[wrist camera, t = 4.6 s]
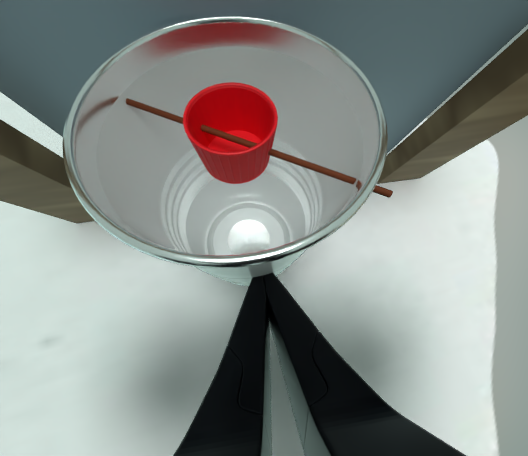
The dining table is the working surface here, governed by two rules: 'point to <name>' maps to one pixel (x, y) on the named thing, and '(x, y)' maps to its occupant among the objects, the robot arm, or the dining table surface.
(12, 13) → the door
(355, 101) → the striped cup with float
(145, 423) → the dining table surface
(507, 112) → the door frame
